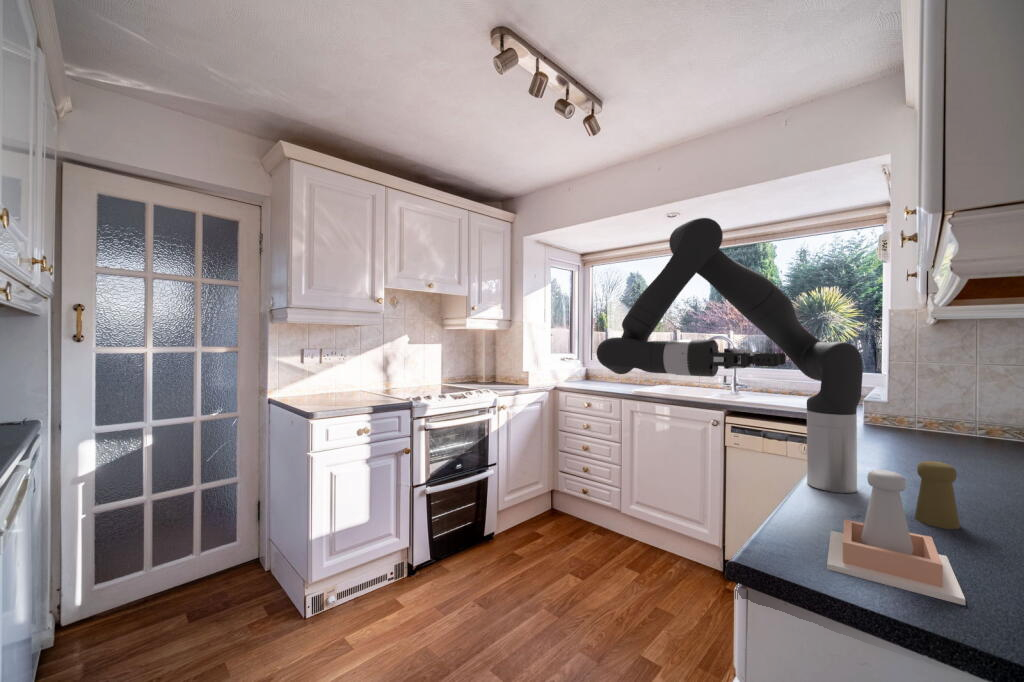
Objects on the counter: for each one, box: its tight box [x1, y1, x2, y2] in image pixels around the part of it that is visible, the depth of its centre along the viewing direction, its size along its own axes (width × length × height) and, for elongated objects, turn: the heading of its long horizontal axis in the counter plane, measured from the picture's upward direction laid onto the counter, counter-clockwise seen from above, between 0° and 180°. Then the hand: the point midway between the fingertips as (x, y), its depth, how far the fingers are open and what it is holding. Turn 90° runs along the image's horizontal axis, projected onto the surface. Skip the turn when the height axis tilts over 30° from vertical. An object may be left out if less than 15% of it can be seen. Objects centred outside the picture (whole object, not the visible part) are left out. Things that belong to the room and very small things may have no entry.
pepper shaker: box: [914, 460, 961, 530], centre depth 79 cm, size 6×6×11 cm
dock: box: [826, 519, 966, 606], centre depth 64 cm, size 14×14×4 cm
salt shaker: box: [861, 469, 913, 555], centre depth 64 cm, size 6×6×13 cm
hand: (782, 359), depth 79 cm, fingers open, 8 cm apart
